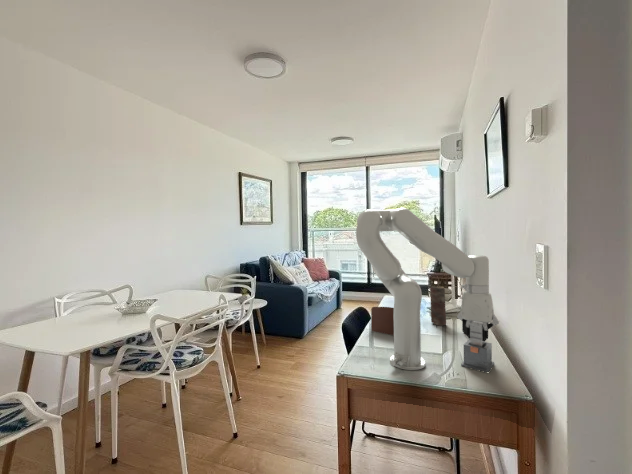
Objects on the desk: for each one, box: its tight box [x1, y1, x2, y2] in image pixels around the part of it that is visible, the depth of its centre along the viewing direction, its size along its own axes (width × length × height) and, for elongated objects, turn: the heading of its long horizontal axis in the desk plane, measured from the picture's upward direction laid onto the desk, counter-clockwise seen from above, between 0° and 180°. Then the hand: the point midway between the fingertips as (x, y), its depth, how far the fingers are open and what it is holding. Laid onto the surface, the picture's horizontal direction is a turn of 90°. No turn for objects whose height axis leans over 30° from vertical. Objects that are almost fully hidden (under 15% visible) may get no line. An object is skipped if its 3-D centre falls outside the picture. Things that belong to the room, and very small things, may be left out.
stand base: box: [460, 338, 495, 373], centre depth 116 cm, size 9×9×8 cm
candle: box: [429, 286, 447, 327], centre depth 166 cm, size 8×7×20 cm
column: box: [470, 321, 486, 348], centre depth 116 cm, size 4×4×14 cm
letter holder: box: [370, 306, 394, 336], centre depth 152 cm, size 10×20×14 cm, turn 56°
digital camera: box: [461, 321, 469, 337], centre depth 149 cm, size 10×5×7 cm, turn 178°
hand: (477, 338), depth 116 cm, fingers closed on column, 4 cm apart
